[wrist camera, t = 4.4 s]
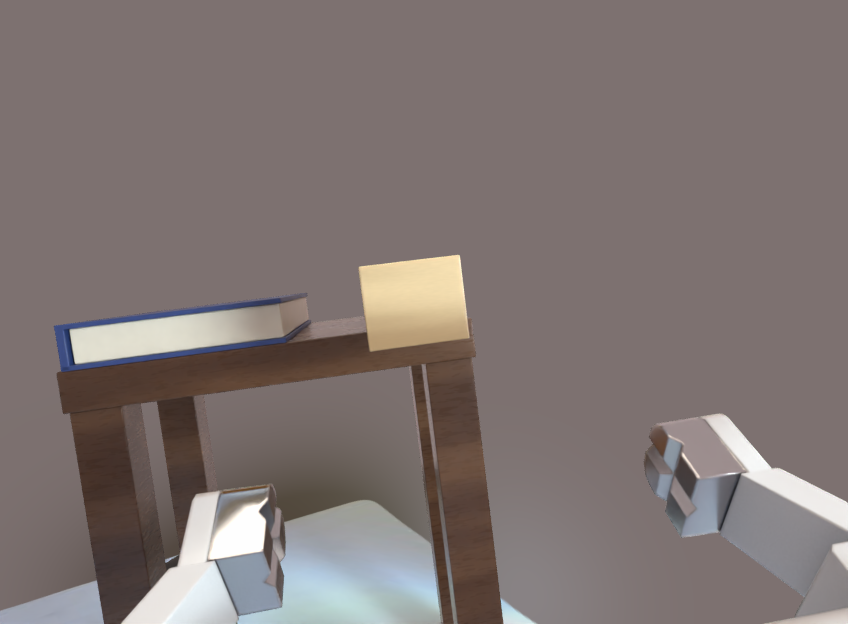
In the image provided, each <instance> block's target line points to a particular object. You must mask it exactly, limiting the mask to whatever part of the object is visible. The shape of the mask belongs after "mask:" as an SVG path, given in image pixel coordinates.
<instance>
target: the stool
mask: <svg viewBox="0 0 848 624" xmlns="http://www.w3.org/2000/svg"><path fill="white" fill-rule="evenodd" d="M467 321H468V329H469V338H468V339H461V340H453V341H446V342H439V343H431V344H424V345H416V346H409V347H402V348H394V349H387V350H379V351H372V352H370V351H369V346H368V338H367V331H366V323H365V316H361V317H353V318H346V319H338V320H331V321H322V322H315V323H310V324H309V325H308V326H306V327H305V328H304V329H303V330H301V331H300V332H299V333H297V334H296V335H295V336H294V337H292V338H291V339H290V340H289V341H287V342H286V343H278V344H270V345H263V346H255V347H248V348H240V349H232V350H225V351H217V352H210V353H202V354H195V355H187V356H179V357H172V358H164V359H157V360H149V361H141V362H134V363H126V364H119V365H111V366H103V367H96V368H88V369H81V370H73V371H65V372H58V373H57V380H58V386H59V392H60V398H61V404H62V410H63V414H68V413H70V418H71V423H72V429H73V436H74V442H75V448H76V454H77V460H78V466H79V472H80V479H81V485H82V491H83V497H84V503H85V509H86V516H87V522H88V527H89V533H90V539H91V545H92V551H93V558H94V564H95V570H96V576H97V583H98V589H99V595H100V601H101V607H102V613H103V620H104V624H121V623H122V622H123V621H124V619H125V618H126V617H127V616H128V615H129V614H130V613H131V611H132V610H133V609H134V608H135V607H136V606H137V605H138V603H139V602H140V601H141V600H142V599H143V598H144V597H145V595H146V594H147V593H148V592H149V591H150V590H151V589H152V587H153V586H154V585H155V584H156V583H157V582H158V581H159V580H160V578H161V577H162V576H163V575H164V574H165V573H166V572H167V570H166V563H165V557H164V551H163V544H162V537H161V531H160V525H159V518H158V512H157V506H156V499H155V493H154V486H153V480H152V474H151V467H150V460H149V454H148V447H147V441H146V435H145V429H144V422H143V415H142V409H141V403H147V402H155V401H157V405H158V411H159V417H160V424H161V430H162V437H163V444H164V450H165V457H166V463H167V469H168V476H169V483H170V489H171V496H172V502H173V509H174V515H175V522H176V528H177V534H178V541H179V548H180V552H181V547H182V543H183V539H184V534H185V530H186V525H187V521H188V516H189V512H190V508H191V503H192V500H193V499H194V497H195V495H196V494H200V493H207V492H214V491H218V489H217V483H216V476H215V469H214V462H213V456H212V449H211V442H210V435H209V428H208V422H207V415H206V408H205V401H204V395H205V394H212V393H220V392H226V391H234V390H240V389H248V388H256V387H263V386H269V385H277V384H284V383H291V382H299V381H305V380H313V379H320V378H327V377H335V376H342V375H349V374H357V373H363V372H371V371H378V370H385V369H392V368H400V367H407V366H409V370H410V379H411V387H412V394H413V403H414V411H415V417H416V426H417V434H418V442H419V450H420V458H421V466H422V474H423V482H424V490H425V498H426V506H427V514H428V522H429V530H430V538H431V546H432V554H433V562H434V570H435V578H436V586H437V594H438V602H439V609H440V617H441V624H503V617H502V609H501V600H500V592H499V584H498V575H497V567H496V558H495V550H494V541H493V533H492V525H491V516H490V508H489V500H488V492H487V482H486V474H485V467H484V466H485V465H484V458H483V449H482V441H481V432H480V423H479V415H478V407H477V398H476V390H475V382H474V373H473V364H472V357H475V356H476V351H475V343H474V334H473V327H472V319H471V318H468V317H467ZM236 624H237V623H236Z"/></svg>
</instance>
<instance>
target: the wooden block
mask: <svg viewBox="0 0 848 624" xmlns="http://www.w3.org/2000/svg"><path fill="white" fill-rule="evenodd" d="M359 277H360V284H361V292H362V300H363V308H364V315H365V323H366V331H367V338H368V346H369V351H370V352H372V351H379V350H387V349H394V348H402V347H409V346H416V345H424V344H431V343H439V342H446V341H453V340H461V339H468V338H469V329H468V321H467V312H466V304H465V296H464V287H463V279H462V270H461V262H460V256H459V255H453V256H445V257H437V258H428V259H420V260H412V261H403V262H395V263H386V264H378V265H370V266H362V267H359Z"/></svg>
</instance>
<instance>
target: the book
mask: <svg viewBox="0 0 848 624" xmlns="http://www.w3.org/2000/svg"><path fill="white" fill-rule="evenodd" d="M306 296H307V293H302V294H294V295H286V296H278V297H269V298H262V299H254V300H245V301H237V302H229V303H222V304H213V305H205V306H197V307H189V308H181V309H173V310H165V311H157V312H149V313H142V314H135V315H128V316H121V317H114V318H107V319H99V320H92V321H86V322H78V323H71V324H64V325H56V326H54V330H55V335H56V341H57V347H58V352H59V359H60V365H61V372H65V371H73V370H81V369H88V368H96V367H103V366H111V365H119V364H126V363H134V362H141V361H149V360H157V359H164V358H172V357H179V356H187V355H195V354H202V353H210V352H217V351H225V350H232V349H240V348H248V347H255V346H263V345H270V344H278V343H286V342H287V341H289V340H290V339H291V338H292V337H294V336H295V335H296V334H297V333H299V332H300V331H301V330H303V329H304V328H305V327H306V326H308V325H309V324H310V323H311V320H309V317H308V310H307V302H306Z"/></svg>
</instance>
